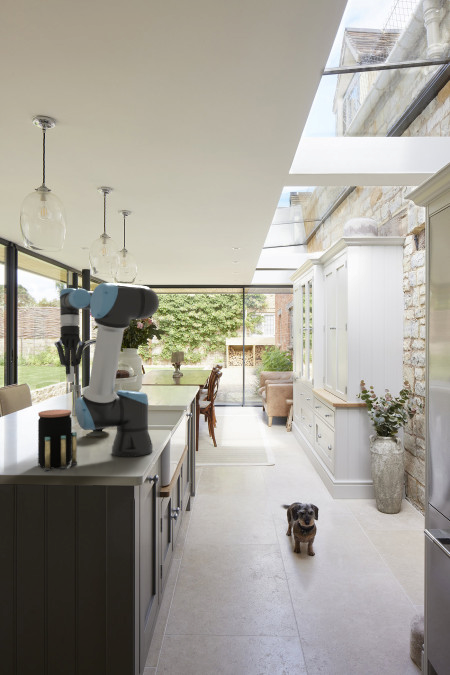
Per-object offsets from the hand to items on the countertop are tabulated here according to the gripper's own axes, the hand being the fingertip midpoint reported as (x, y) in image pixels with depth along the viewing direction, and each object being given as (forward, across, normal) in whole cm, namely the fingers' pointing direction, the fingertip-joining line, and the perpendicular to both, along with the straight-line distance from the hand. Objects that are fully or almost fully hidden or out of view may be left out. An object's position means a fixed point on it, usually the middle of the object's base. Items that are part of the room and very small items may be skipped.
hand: (70, 381), depth 182 cm
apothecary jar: (+25, -15, -5) cm, 29 cm away
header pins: (+28, +19, +31) cm, 46 cm away
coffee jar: (+28, +19, +24) cm, 41 cm away
